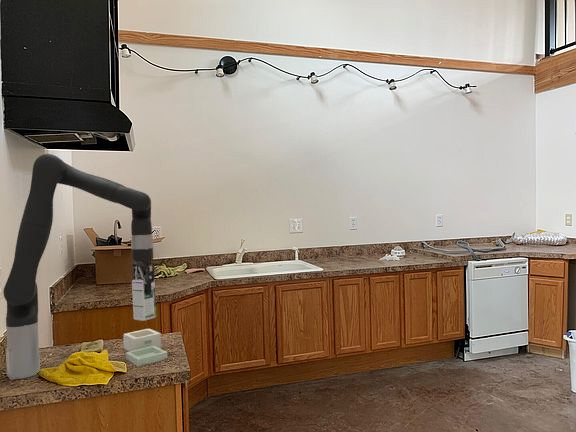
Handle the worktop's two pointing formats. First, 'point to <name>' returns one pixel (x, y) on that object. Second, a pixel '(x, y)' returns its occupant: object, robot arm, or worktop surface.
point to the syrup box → (143, 301)
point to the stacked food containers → (141, 339)
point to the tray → (146, 356)
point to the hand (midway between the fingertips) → (143, 292)
